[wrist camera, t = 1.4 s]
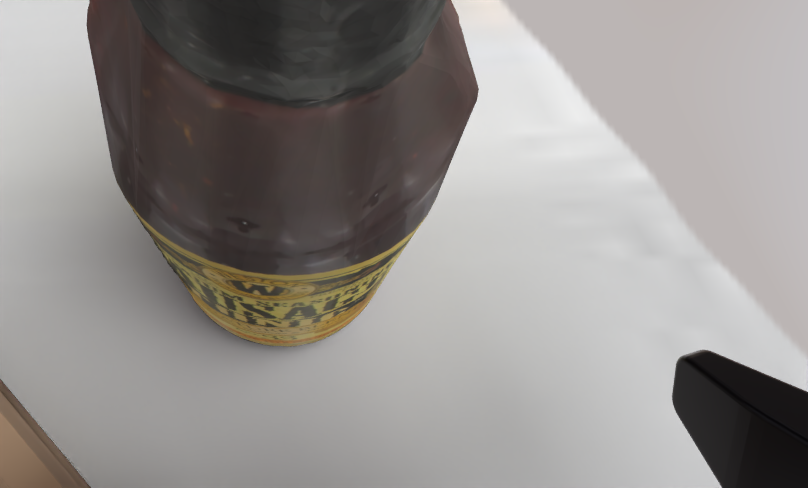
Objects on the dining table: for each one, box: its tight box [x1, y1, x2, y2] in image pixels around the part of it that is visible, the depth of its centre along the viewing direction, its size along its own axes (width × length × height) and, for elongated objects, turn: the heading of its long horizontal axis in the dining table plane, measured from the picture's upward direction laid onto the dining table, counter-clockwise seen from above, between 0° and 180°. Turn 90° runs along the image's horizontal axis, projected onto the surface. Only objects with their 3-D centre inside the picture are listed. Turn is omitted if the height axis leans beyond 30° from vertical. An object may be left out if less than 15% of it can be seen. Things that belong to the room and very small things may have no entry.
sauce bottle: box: [87, 0, 479, 346], centre depth 14 cm, size 7×6×20 cm
